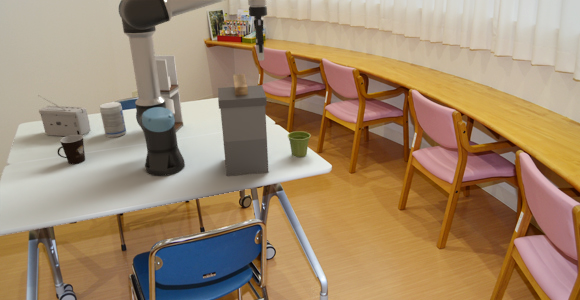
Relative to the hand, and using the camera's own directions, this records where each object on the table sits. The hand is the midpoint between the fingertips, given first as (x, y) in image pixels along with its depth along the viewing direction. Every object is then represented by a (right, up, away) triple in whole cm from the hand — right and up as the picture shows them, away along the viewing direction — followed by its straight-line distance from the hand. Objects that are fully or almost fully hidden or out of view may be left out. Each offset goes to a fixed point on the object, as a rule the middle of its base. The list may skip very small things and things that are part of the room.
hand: (260, 57), depth 195 cm
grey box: (-4, -46, -16) cm, 49 cm away
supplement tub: (-70, -33, +20) cm, 80 cm away
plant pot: (+17, -42, -7) cm, 46 cm away
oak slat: (-6, -16, -22) cm, 28 cm away
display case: (-47, -30, +25) cm, 61 cm away
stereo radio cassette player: (-94, -33, +22) cm, 102 cm away
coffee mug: (-77, -45, -9) cm, 90 cm away
